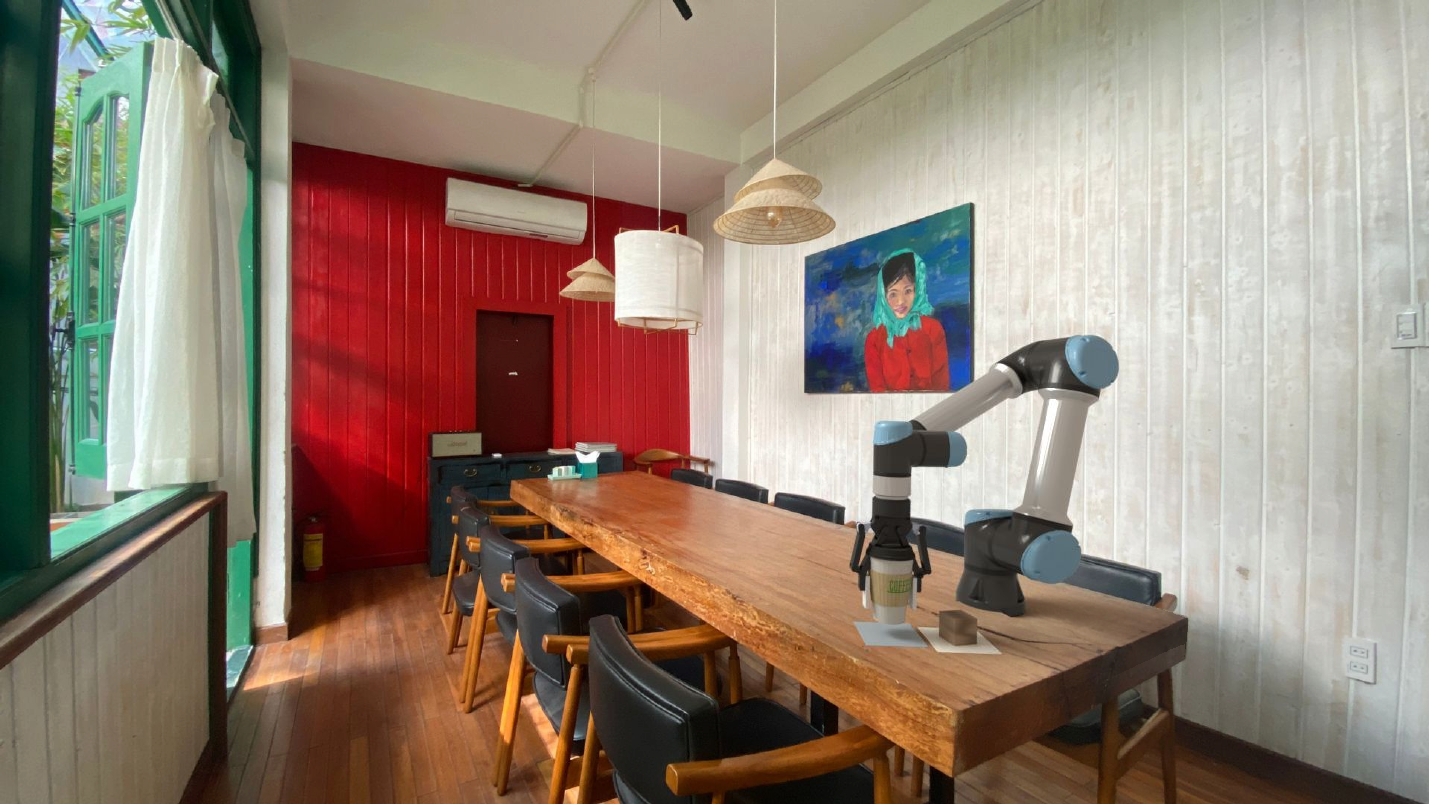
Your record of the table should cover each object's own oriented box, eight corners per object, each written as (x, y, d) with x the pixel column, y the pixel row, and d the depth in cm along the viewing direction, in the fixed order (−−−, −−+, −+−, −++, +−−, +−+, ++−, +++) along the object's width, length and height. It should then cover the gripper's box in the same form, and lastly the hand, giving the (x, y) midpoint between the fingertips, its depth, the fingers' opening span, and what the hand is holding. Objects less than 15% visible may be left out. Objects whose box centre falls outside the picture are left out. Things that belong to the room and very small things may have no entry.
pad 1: (909, 628, 122) (909, 623, 122) (928, 652, 110) (928, 647, 110) (853, 626, 122) (853, 621, 122) (866, 650, 110) (866, 645, 110)
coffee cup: (917, 630, 110) (919, 553, 110) (865, 625, 112) (867, 549, 112) (910, 612, 120) (912, 541, 120) (862, 608, 122) (864, 538, 122)
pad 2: (975, 633, 119) (975, 629, 119) (1002, 659, 107) (1002, 654, 107) (917, 631, 120) (917, 627, 120) (937, 657, 108) (937, 651, 108)
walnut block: (960, 634, 116) (960, 609, 116) (976, 644, 111) (977, 618, 112) (938, 635, 115) (939, 611, 115) (954, 646, 110) (954, 620, 110)
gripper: (937, 494, 119) (935, 602, 119) (835, 492, 120) (833, 599, 120) (951, 500, 112) (949, 615, 112) (842, 497, 113) (839, 612, 112)
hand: (889, 607), depth 116 cm, fingers closed on coffee cup, 9 cm apart
